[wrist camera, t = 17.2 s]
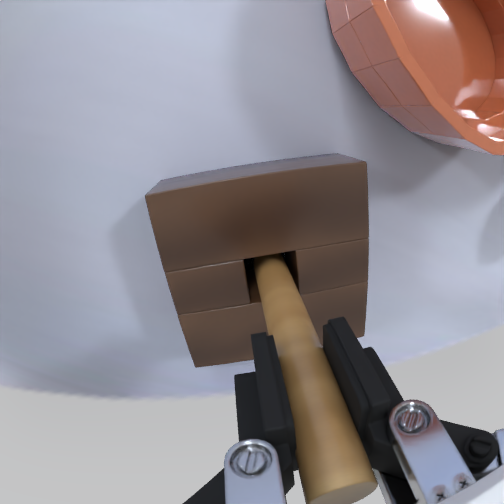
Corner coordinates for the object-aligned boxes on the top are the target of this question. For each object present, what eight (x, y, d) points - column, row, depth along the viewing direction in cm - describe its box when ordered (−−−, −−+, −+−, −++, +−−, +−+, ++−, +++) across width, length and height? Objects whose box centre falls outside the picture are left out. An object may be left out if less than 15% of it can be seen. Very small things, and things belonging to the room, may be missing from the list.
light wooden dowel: (250, 250, 18) (306, 495, 5) (281, 245, 18) (384, 473, 5) (255, 278, 19) (306, 515, 6) (284, 273, 19) (371, 498, 6)
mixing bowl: (300, -75, 11) (325, -123, 5) (478, -28, 11) (522, -42, 6) (343, 146, 17) (393, 158, 12) (510, 144, 18) (562, 158, 12)
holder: (160, 180, 17) (144, 195, 14) (338, 153, 17) (367, 161, 14) (198, 329, 21) (195, 367, 18) (343, 303, 22) (364, 336, 18)
